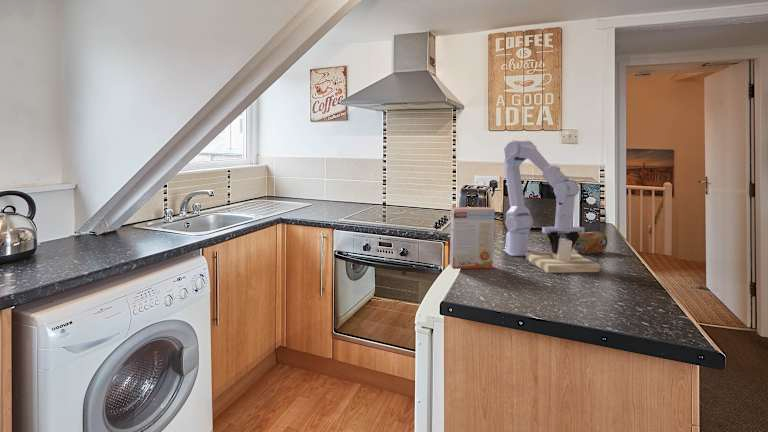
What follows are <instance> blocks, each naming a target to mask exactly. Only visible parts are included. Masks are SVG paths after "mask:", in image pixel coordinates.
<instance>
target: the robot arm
mask: <svg viewBox="0 0 768 432" xmlns="http://www.w3.org/2000/svg"><path fill="white" fill-rule="evenodd" d="M503 151H504V161H503V167H504V173H505V181H506V188H507V194H508V201H509V207H510V208H509V209H508V210H507V212H506V213H505V216H506V219H505V227H506V229H507V233H506V235H505V248H503V249H502V250H503V252H505V253H507V254H508V255H509V256H512V257H515V256H517V257H519V256H520V257H521V256H525V257H526V252H528V249H529V248H528V247H529V246H528V243H529V232H530V230H531V229H532V227H533V226H534V219H533V217H532V215H531V211H530V209H528V207H527V206H526V205H525V198H524V197H525V196H524V191H523V184H522V177H521V176H522V175H521V171H520V166H521V165H522V163H523V162H525V161H526V160H529V161H531V163H533V165H535V166H536V167H537V169H539V170H540V171H541V172H542V178H543V179H544V180H545V181H546V182H547V183H548V184H549V186H551V188H553V193H554V196H555V201H556V206H555V217H554V219H555V221H554V226H543V227H541V233H542V234H546V235H547V238H548V239H549V242H550V246H551V252H553V253H555V254H557V251H558V242H559V238H561V236H560V235H559V234H565V238H566V239H569V240H571V241H572V249H571V252H573V249H574V248H573V246H574V244H575V242H576V241H577V239H578V238H579V234H578V233H585V227H583V226H573V223H574V214H575V213H574V211H575V198H576V197H575V196H577V195H578V193H579V192H580V191H579V190H580V187H579V184H578V182H577V181H575V180H572V179H571V180H570V178H569V176H568V175H567V176H566V175H565V174H564V173H563V171H561V167H559V166H557V165H550V163H549V162H548V161H547V159H545V157H544V156H543V155H542V154H541V153H540V151H539V150H538V149H537V145H535V144H534V142H532V141H531V140H513V139H511V140H510V141H508V142H507V144H506V145H505V147H504V148H503Z"/></svg>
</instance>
